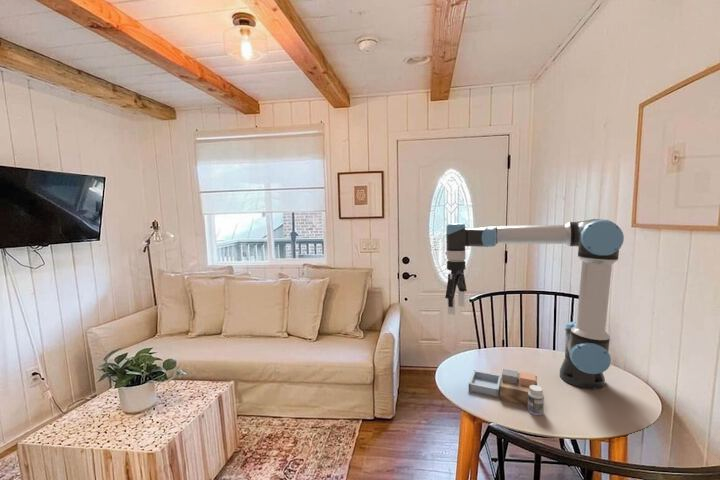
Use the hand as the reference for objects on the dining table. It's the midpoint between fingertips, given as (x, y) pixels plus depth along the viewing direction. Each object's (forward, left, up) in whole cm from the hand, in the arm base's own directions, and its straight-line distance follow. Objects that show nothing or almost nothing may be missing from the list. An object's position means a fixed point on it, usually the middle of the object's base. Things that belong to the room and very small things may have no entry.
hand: (456, 310), depth 141 cm
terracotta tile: (-27, +8, -22) cm, 36 cm away
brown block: (-24, +8, -27) cm, 37 cm away
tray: (-13, +8, -27) cm, 31 cm away
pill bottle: (-30, +18, -27) cm, 44 cm away
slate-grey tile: (-21, +8, -22) cm, 32 cm away
